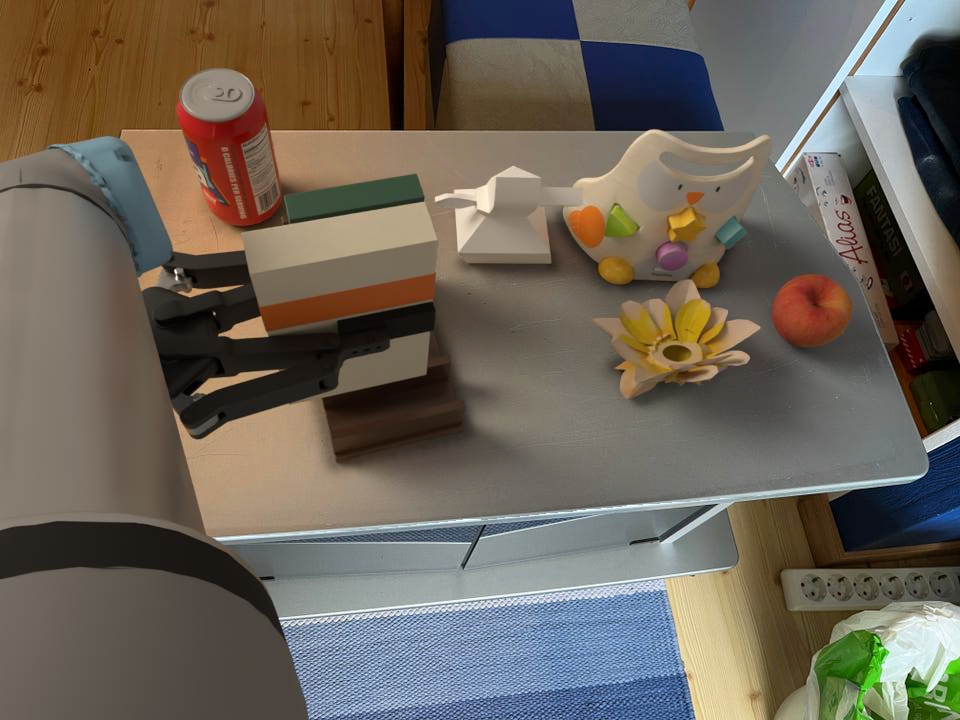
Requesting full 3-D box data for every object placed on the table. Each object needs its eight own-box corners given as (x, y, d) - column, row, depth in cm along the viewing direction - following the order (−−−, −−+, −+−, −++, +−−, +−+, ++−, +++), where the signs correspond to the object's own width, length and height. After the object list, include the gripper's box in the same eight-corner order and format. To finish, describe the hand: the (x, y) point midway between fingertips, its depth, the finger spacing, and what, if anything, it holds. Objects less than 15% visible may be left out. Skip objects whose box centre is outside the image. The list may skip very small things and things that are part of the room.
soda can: (278, 233, 78) (255, 128, 65) (202, 228, 78) (163, 121, 64) (287, 176, 82) (267, 65, 69) (214, 171, 81) (179, 58, 68)
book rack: (462, 431, 70) (476, 368, 58) (336, 462, 67) (323, 402, 56) (413, 276, 78) (417, 192, 66) (298, 298, 75) (280, 215, 63)
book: (427, 375, 60) (439, 240, 44) (288, 406, 58) (248, 275, 42) (417, 342, 61) (425, 200, 45) (281, 371, 59) (240, 231, 43)
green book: (419, 301, 75) (424, 196, 61) (309, 323, 72) (289, 220, 58) (412, 280, 76) (416, 172, 62) (304, 301, 73) (283, 194, 59)
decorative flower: (712, 277, 79) (755, 241, 69) (748, 378, 77) (797, 355, 67) (580, 309, 77) (605, 276, 67) (613, 414, 75) (644, 395, 65)
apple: (838, 335, 80) (882, 295, 73) (799, 373, 77) (840, 335, 70) (785, 289, 82) (822, 246, 75) (744, 325, 79) (779, 284, 72)
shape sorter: (569, 287, 79) (612, 172, 63) (561, 208, 84) (599, 84, 68) (746, 292, 81) (831, 182, 65) (728, 215, 86) (803, 96, 70)
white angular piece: (430, 209, 82) (436, 115, 70) (554, 211, 83) (582, 119, 71) (433, 273, 78) (440, 185, 66) (563, 273, 80) (594, 188, 68)
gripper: (79, 292, 53) (398, 235, 59) (95, 502, 47) (454, 417, 52) (35, 227, 47) (398, 170, 52) (46, 462, 40) (462, 369, 45)
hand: (425, 294), depth 52 cm, fingers closed on book, 3 cm apart
